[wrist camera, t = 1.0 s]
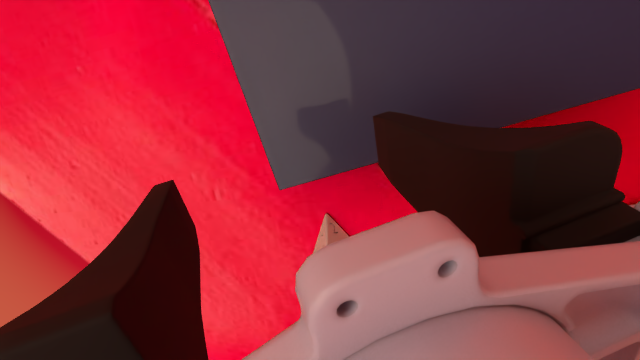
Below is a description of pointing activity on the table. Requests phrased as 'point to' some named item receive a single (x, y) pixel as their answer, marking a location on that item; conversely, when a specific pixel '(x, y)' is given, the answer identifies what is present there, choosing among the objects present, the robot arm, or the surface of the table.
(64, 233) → the table surface
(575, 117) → the table surface
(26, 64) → the table surface
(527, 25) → the book
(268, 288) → the table surface
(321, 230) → the tetrahedral die
